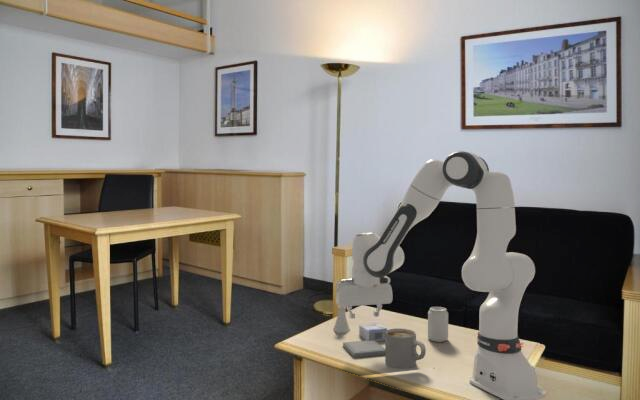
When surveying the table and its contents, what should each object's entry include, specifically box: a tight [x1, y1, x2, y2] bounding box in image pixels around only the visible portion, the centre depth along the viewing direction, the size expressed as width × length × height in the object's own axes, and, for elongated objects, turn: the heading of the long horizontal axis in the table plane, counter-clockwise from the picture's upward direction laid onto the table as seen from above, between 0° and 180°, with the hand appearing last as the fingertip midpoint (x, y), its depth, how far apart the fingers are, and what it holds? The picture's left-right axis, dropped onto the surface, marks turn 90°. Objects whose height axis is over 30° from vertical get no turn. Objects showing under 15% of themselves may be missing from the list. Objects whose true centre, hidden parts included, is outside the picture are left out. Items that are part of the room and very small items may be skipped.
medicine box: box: [358, 322, 388, 342], centre depth 192 cm, size 8×4×9 cm
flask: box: [332, 305, 351, 334], centre depth 199 cm, size 7×7×10 cm
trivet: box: [342, 340, 385, 359], centre depth 178 cm, size 12×12×2 cm
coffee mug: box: [384, 327, 427, 369], centre depth 164 cm, size 13×10×10 cm
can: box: [427, 306, 449, 343], centre depth 190 cm, size 8×8×12 cm
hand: (364, 317), depth 177 cm, fingers open, 8 cm apart
